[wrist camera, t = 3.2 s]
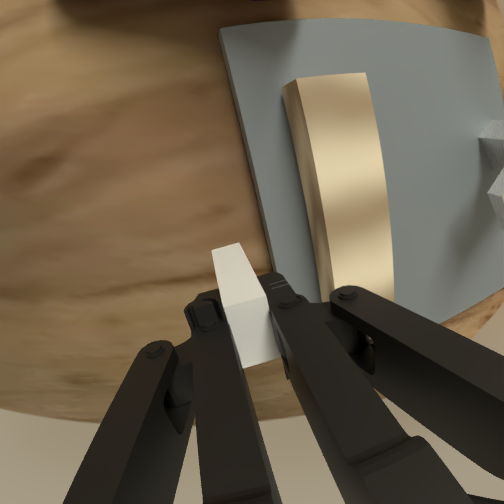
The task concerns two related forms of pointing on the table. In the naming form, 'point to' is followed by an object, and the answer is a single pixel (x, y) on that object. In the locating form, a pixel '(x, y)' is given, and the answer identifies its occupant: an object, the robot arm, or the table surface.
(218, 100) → the table surface
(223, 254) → the robot arm
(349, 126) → the brass bar
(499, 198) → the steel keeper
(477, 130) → the slate board
